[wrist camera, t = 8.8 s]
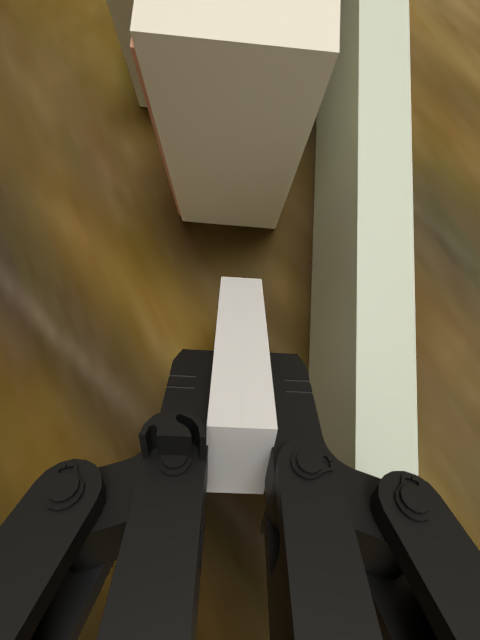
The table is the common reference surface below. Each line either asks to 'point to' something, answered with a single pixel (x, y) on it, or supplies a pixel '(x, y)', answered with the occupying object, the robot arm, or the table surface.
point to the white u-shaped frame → (359, 240)
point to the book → (233, 98)
